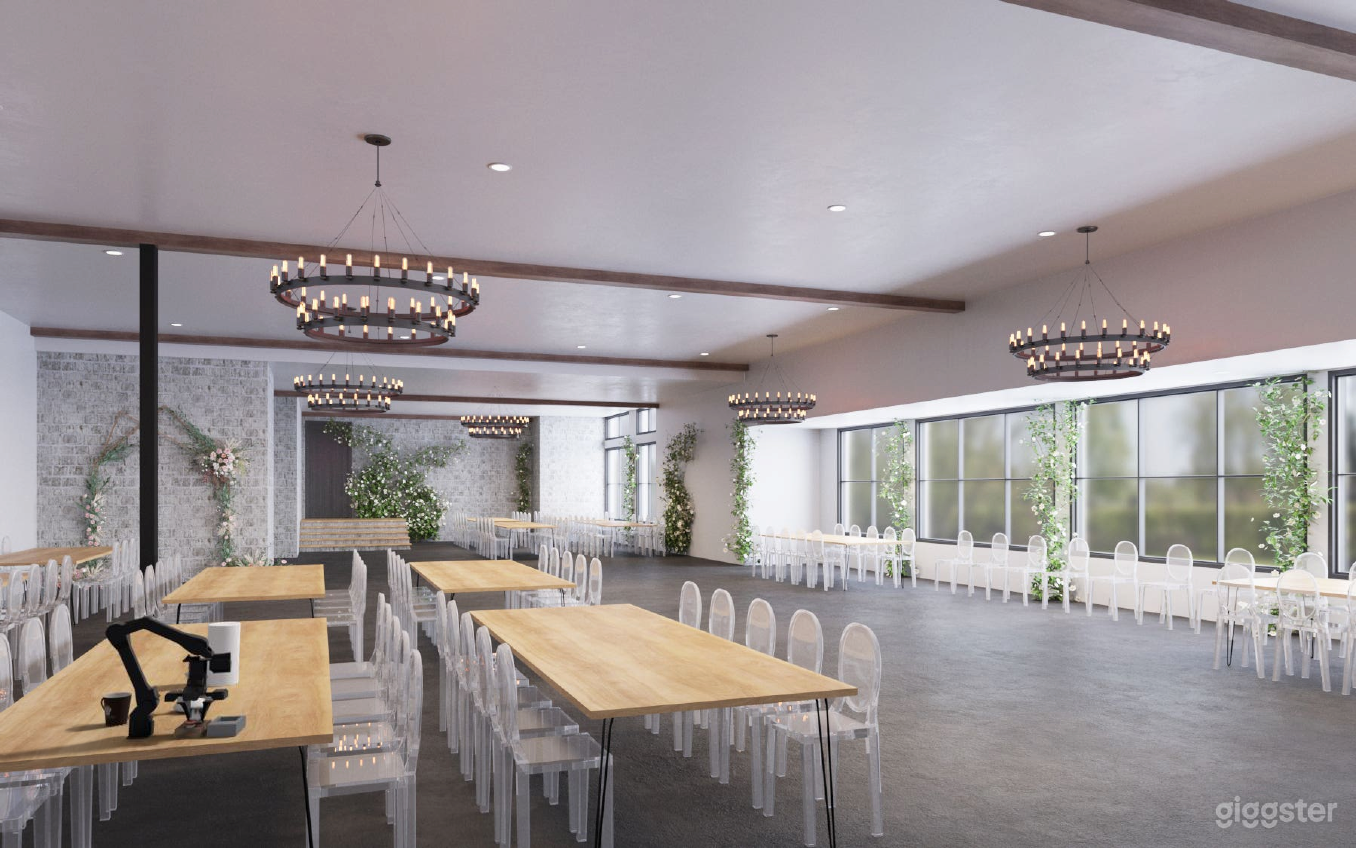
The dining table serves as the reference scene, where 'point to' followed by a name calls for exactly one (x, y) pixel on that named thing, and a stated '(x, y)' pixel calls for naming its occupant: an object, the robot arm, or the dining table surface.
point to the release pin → (190, 723)
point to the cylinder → (224, 651)
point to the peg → (196, 714)
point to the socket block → (191, 730)
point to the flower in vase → (193, 703)
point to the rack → (226, 726)
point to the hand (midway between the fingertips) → (195, 721)
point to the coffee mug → (116, 708)
